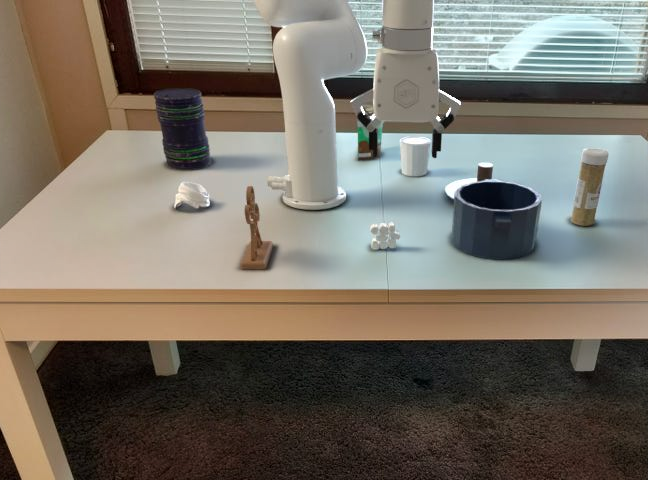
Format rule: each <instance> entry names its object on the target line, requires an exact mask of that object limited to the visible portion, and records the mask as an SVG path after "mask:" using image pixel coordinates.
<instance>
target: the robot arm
mask: <svg viewBox="0 0 648 480" xmlns="http://www.w3.org/2000/svg"><path fill="white" fill-rule="evenodd" d="M252 2H253V5H254V6H255V8H256V10H257V12H258V14H259V15H260V16H261V18H262V20H263V21H264V22H265V23H266V24H267V25H269V26H271V27H275V28H281V29H280V30H279V31H278V32H277V33H276V34H275V36H274V38H273V43H272V54H273V55H272V56H273V60H274V64H275V68H276V73H277V77H278V80H279V85H280V92H281V99H282V108H283V119H284V120H283V121H284V131H285V132H284V133H285V134H284V135H285V144H286V158H287V159H286V160H287V170H288V173H287V175H283V176H281V177H279V176H267V187H271V190H274V191H280V190H282V201H283V203H284V204H286V205H287V206H289V207H291V208H295V209H299V210H307V211H318V210H320V211H321V210H327V209H331V208H336V207H337V206H340V205H342V204H343V203H344V202H345V201H346V199H347V192H346V190H344V188H342V187H341V186H339V184H338V183H339V182H338V157H337V156H338V155H337V152H338V151H337V127H336V126H337V125H336V121H337V120H336V107H335V103H334V99H333V97H332V96H331V94H330V92H329V91H328V88H327V87H326V86H325V82H324V81H326V80H331V79H336V78H342V77H348V76H352V75H354V74H356V73H359V72H360V71H361V70H362V69H363V68H364V66H365V64H366V62H367V58H368V45H367V41H366V37H365V34H364V32H363V29H362V27H361V25H360V23H359V21H358V18H357V17H356V15H355V13H354V11H353V9H352V7H351V4H350V3H349V1H348V0H252ZM434 9H435V0H382V1H381V18H382V19H381V25H382V26H381V28H380V29H377V30H372V41H375V42H378V43H380V45H381V47H380V48H378V49H377V51H376V55H375V62H374V70H373V71H374V72H373V88H371V89H368V90H367V91H365V92H364V93H362V94H360V95H358V96H356V97H355V98H352V99H351V101H350V107H351V108H352V110H353V112H354V114H355V116H356V118H358V120H359V121H360V122H361V123H362V124H363V125H364V126H365V127H366V128H367V130H368V131H369V150H373V157H376V156H378V129H377V126H378V124H379V123H380V122H381V121H385V122H390V123H430V124H431V125H432V127H433V129H431V130H432V132H431V136H432V137H431V157H432V158H433V159H437V157H438V152H441V151H442V138H443V135H442V134H443V133H444V131H445V130H446V129H447V128H449V126H450V125H451V124H453V122H454V121H455V118H456V117H457V115H458V113H459V111H460V109H461V108H462V104H461V101H460V100H458V99H456V98H455V97H452V96H451V95H449V94H448V93H446V92H444V91H442V90H440V67H439V66H440V65H439V57H438V52H437V50H436V49H435V48H433V37H434V36H433V35H434V27H433V26H434V11H435V10H434ZM371 101H372V106H373V110H374V115H373V116H372V117H371V118H369V116H368V115H367V114H366V113H365V112H364V111H363V109H362V105H366V104H367V103H369V102H371ZM440 102H441V103H443V104H445V105H446V106H447V107H449V110H448V111H447V113H446V114H445V115H443V117H442V118H441V119H440V117H439V116H438V115H439V109H440V108H439V107H440Z"/></svg>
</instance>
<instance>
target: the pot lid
mask: <svg viewBox="0 0 648 480" xmlns="http://www.w3.org/2000/svg"><path fill="white" fill-rule="evenodd" d="M493 170H494V164H493V163H491V162H479V163H478V164H477V171H476V178H465V179H459V180H455V181H453V182H451V183H448V184H447V185H446V186H445V188H444V195H445V196H446V198H448V199H449V200H450V201H452V202H454V193H455V190H456V189H457V188H458V187H459V186H461V185H464V184H467V183H470V182H477V181H485V179H493Z"/></svg>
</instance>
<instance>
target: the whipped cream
mask: <svg viewBox="0 0 648 480" xmlns="http://www.w3.org/2000/svg"><path fill="white" fill-rule="evenodd" d="M177 190H178V193H176V194H175V202H174V204H173V207H174V209H175V210H176V209H178V207H180V206H181V204H182V203H184V204H187V205H189V206H191V207H193V208H194V209H199V208H200V207H201V208H207V207H209V206H210V204H211V203H210V194H209V192H208V191H207V190H206V189H205V187H204V186H202V184H199V183H196V182H192V181H182V182H180V184H179V185H178V188H177Z"/></svg>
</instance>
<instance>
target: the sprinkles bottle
mask: <svg viewBox="0 0 648 480" xmlns="http://www.w3.org/2000/svg"><path fill="white" fill-rule="evenodd" d="M608 160H609V152H608V151H607V150H605V149H604V148H603V149H602V148H597V147H589V148H584V149H583V150H582V153H581V157H580V168H579V174H578V177H577V182H576V189H575V195H574V200H573V208H572V214H571V217H570V221H571V222H572V224H574V225H577V226H580V227H589V226H592V225H594V224H595V223H596V222H595V221H596V214H597V208H598V207H599V200H600V195H601V190H602V185H603V180H604V179H603V178H604V174H605V169H606V165H607V163H608Z"/></svg>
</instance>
